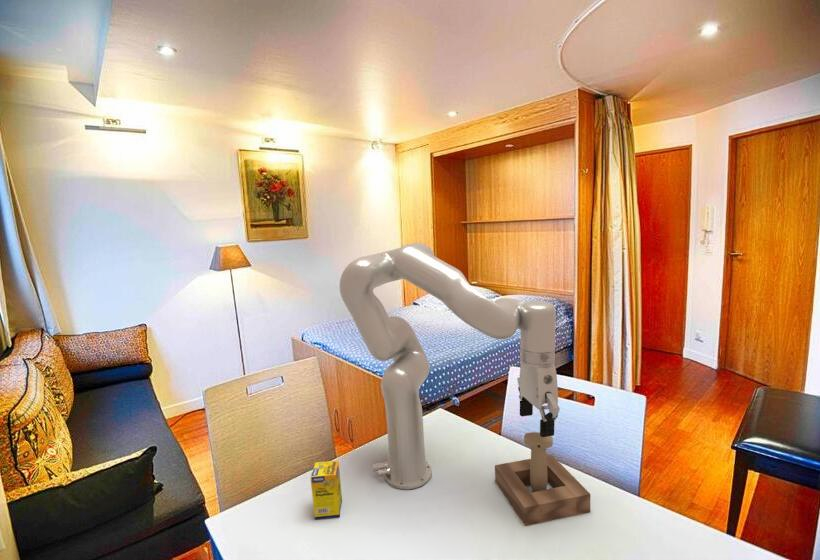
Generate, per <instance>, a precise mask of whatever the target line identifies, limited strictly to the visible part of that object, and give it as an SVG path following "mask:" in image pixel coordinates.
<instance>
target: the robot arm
mask: <svg viewBox="0 0 820 560" xmlns="http://www.w3.org/2000/svg"><path fill="white" fill-rule="evenodd" d="M398 280H399V281H401V280H405V281H407V282H408V283H410V284H412V285H414V286H415V287H417V288H419V289H421V290H423V291H424V292H426V293H428V294H429V295H431V296H433V298H436V299H438V300H439V301H441V302H442V303H443V304H444V306H446V307H447V308H448V309H449V311H451V312H452V313H453V314H454V315H456V317H458V319H460V320H461V321H463V323H465V324H466V325H468V326H470V327H472V328H473V329H474V330H476V331H478V332H480V333H481V334H483V335H485V336H487V337H489V338H491V339H495V340H502V341H503V340H506V339H509V338H511V337H512V336H514V335H515V333H516V332H517V331H518V330H519V331H520V339H519V340H520V342H519V343H520V344H519V345H520V351H519V352H520V354H519V355H520V357H519V358H520V359H519V360H520V368H519V377H517V385H518V388H517V390H518V392H519V395H518V398H519V416H520V417H528V416H530V417H531V416H533V414H534V408H536V409H537V410H539V411H538V412H539V413H540V417H541V419H540V420H539V433H540V436H541V437H548V436H551V437H553V436H555V422H556V420H557V418H559V417H558V416H559V413H560V410H561V409H560V406H559V398H558V397H559V394H558V393H559V390H558V389H559V387H558V376H557V369H556V366H555V361H556V359H555V358H556V355H555V353H556V349H555V348H556V324H557V323H556V320H557V315H556V314H557V313H556V312H557V311H556V310H557V309H556V307H555V305H554V304H553V303H551V302H548V301H544V300H529V301H526V300H519V299H515V298H509V297H502V298H497V299H496V300H495V301H494V300H492V299H490V298H488V297H486V296H485V295H483V294H482V293H481V292H479V291H478V290H476V289H475V288H474V287H473V286H472V285H471V284H470V283H469V282H468V280H467V278H466V276H465V275H464V274H463V272H462V271H461V270H460V269H458V268H456V267H455V266H453V265H451V264H449V263H447V262H445V261H444V260H442V259H440V258H439V257H438V256H437V257H436V256H435V253H434V251H433V250H432V248H431V247H430V246H429V245H427V244H425V243H422V242H413V243H409V244H404V245H402V246H399V247H397V248H394V249H391V250H387V251H382V252H378V253H373V254H369V255H365V256H361V257H357V258H356V259H354V260H353V261H351V262H350V263H348V264H347V266H346V267H345V268H344V269H343V271H342V273H341V275H340V279H339V293H340V297H341V299H342V301H343V304H344V305H345V308H347V310H348V312H349V314H350V315H351V318H352V319H353V321H354V323H355V326H356V327H357V329H358V331H359V334H360V336H361V338H362V340H363V342H364V344H365V346H366V347H367V349H368V352H369V354H370V355H371V356H372V357H373V358H374V359H375V360H377V361H380V362H381V361H382V362H386V361H389V360H391V359H392V360H393V361H392V363H391V364H390V365H388V367H387V368H386V369H385V370H384V372H383V374H382V377H381V381H380V388H381V393H382V396H383V401H384V407H385V415H386V418H385V419H386V428H387V441H388V456H387V457H386V459H387V460H383V462H378V463H372V464H371V465H372V472H373V473H374V472H377V473H378V476H383V475H384V478H385V479H384V480H385V481H386V483H388V484H389V485H390V486H391V487H393V488H396V489H399V490H412V489H417V488H421V487H422V486H424V485H426V483H428V482H429V481H430V479H431V478H432V467H431V465H430V463H428V461H426V450H425V434H424V433H425V432H424V418H423V416H424V415H423V408H422V407H423V406H422V403H421V399H420V388H421V386H422V385H423V384H424V382H425V380H426V379H427V378H428V376H429V373H430V362H429V360H428V357H427V354H426V352H425V351H424V348H423V347H422V345H421V342H420V340H419V339H418V336H417V335H416V333H415V330H414V329H413V327H412V326H411V324H410V323H409V321H407V320H405V318H403V317H400V316H396V315H392V316H389V314H388V313H387V310H386V308H385V306H384V304H383V302H382V301H381V300H380V299H379V298H378V297H377V295H376V294H375V293H374V289H375V288H378V287H381V286H382V285H385V284H388V283H391V282H396V281H398ZM545 410H548V413H546V412H545Z"/></svg>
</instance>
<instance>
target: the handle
mask: <svg viewBox="0 0 820 560" xmlns="http://www.w3.org/2000/svg"><path fill="white" fill-rule="evenodd" d="M523 440H524V443H525V445H526V446H527V447H529V448H530V459H531V465H530V482H531V486H530V487H531V493H532V492H537V491H542V490H547V489H548V482H547V481H548V475H547V462H546V456H547V449H549V448H552V446H553V442H554V440H553V436H548V437H541V436H540V432H537V431H534V432H533V431H532V432H527V433H525V434H524V436H523Z"/></svg>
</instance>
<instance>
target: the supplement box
mask: <svg viewBox="0 0 820 560" xmlns="http://www.w3.org/2000/svg"><path fill="white" fill-rule="evenodd" d="M313 465H314V466H313V469H312V472H311V474H310V483H311V494H312V504H313V514H314V520H316V521H317V520H325V519H334V518H336V519H338V518H340V517H341V508H342V503H343V494H342V485H341V484H342V483H341V472H340V462H339V460H330V461H329V460H328V461H319V462H318V461H316V462H314V464H313Z"/></svg>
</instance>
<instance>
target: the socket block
mask: <svg viewBox="0 0 820 560" xmlns="http://www.w3.org/2000/svg"><path fill="white" fill-rule="evenodd" d="M546 462H547V475H548V481H547V484H549V485H550V487H551V488H547V490H542V491H537V492H532V491H529V489H528V488H527V487H531V482H530V465H531V458H527V459H523V460H522V459H521V460H520V459H519V460H515V461H510V462H505V463H499V464H495V465H494V480H495V481H494V482H495V483H496V485H497V486H498V487H499V490H501V492H502V494H503V496H504V497H505V499H506V501H508V503H509V505H510V506H511V507H512V510H513V511H514V512H515V514H516V515H517V516H518V518H519V520H520V522H521V523H522V525H523V526H524V527H527V526H532V525H537V524H542V523H546V522H550V521H551V522H552V521H555V520H560V519H565V518H569V517H574V516H577V515H584V514H588V513H591V493H590V492H589V491H588V490H587V488H585V486H584V485H582V484H581V483H580V482H579V481H578V480H577V478H576V477H575V476H573V475H572V473H570V472H569V470H568V469H567V468H566V467H565V466H563V464H562V463H561V462H560V461H559V460H558V459H557V458H556V457H555V456H554V455H553V454H549V455H546Z"/></svg>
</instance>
